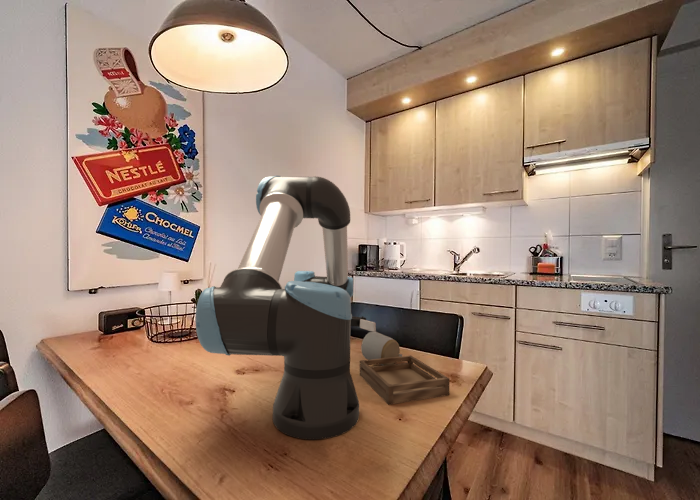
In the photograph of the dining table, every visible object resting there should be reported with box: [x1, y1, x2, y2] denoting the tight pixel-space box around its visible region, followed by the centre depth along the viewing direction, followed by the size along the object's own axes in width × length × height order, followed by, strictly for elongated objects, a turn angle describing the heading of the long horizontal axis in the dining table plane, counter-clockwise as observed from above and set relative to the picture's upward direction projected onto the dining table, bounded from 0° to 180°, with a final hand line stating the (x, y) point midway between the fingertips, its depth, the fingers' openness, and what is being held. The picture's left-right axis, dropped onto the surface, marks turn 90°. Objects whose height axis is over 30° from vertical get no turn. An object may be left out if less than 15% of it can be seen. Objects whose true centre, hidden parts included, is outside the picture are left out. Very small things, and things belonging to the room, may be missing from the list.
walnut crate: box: [359, 355, 450, 405], centre depth 69 cm, size 14×15×3 cm
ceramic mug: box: [360, 331, 403, 366], centre depth 84 cm, size 11×8×8 cm
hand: (358, 330), depth 91 cm, fingers open, 13 cm apart
